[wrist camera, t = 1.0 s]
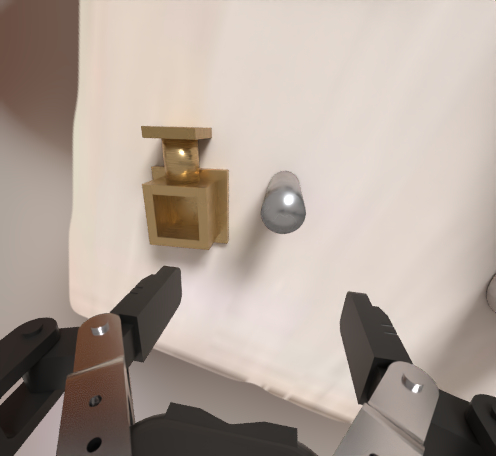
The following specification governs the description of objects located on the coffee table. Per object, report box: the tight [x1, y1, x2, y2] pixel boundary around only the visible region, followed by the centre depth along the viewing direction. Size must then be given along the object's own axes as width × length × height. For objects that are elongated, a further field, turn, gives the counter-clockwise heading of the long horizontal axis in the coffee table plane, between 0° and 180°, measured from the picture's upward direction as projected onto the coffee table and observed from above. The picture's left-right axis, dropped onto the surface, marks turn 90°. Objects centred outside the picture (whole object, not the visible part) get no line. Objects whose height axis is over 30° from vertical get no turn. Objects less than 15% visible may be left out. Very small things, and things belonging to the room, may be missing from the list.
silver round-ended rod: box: [261, 171, 306, 234], centre depth 24 cm, size 3×3×10 cm
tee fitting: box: [141, 126, 229, 250], centre depth 28 cm, size 9×13×5 cm
